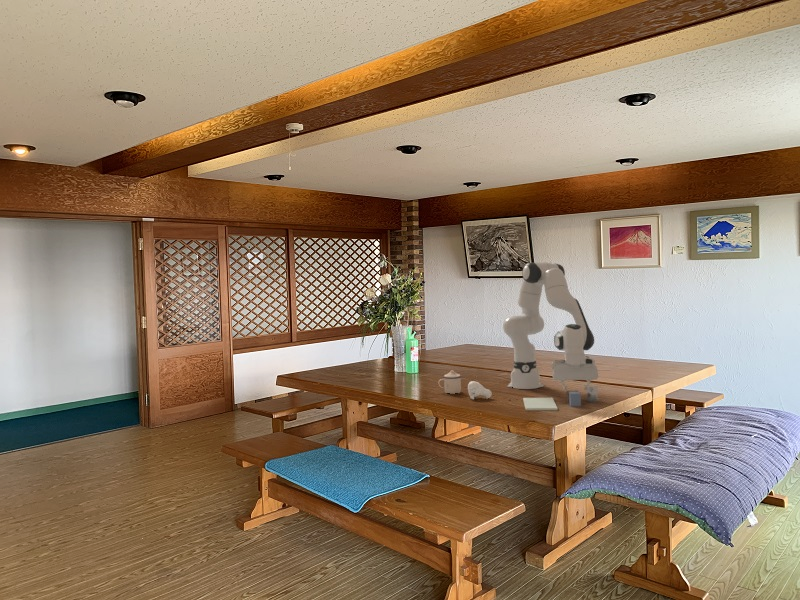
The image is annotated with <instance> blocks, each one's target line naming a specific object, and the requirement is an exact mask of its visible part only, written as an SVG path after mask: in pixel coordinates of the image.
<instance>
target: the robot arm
mask: <svg viewBox="0 0 800 600" xmlns="http://www.w3.org/2000/svg"><path fill="white" fill-rule="evenodd" d="M521 273H522V279H523V280H522V283H521V285H520V290H519V294H518V300H517V303H518V306H519V307H520V308H521V310H522V312H521V314H520V315H513V316H510V317H508V318H506V319H505V320H504V322H503V324H502V329H503V332H504V333H505V335H506V336H507V337H509V339H510V341H511V344H512V345H513V346H512V347H513V353H514V354H513V355H514V358H513V359H514V360H513V370H512V371H511V373H510V383H508V384H507V388H512V387H513V389H517V390H533V389H538V388H543V387H544V384H542V383H541V381H540V380H541V379H540V378H541V377H540V371H539V370H538V369H537V360H536V348H535V345H534V344H533V343H532V342H530V340H529V335H530V336H531V335H536V334H538V333H541V332H542V331H543V329H544V328H545V322H544V321H545V320H544V319H543V317H542V315H541V313H540V303H541V296H542V293H543V291H542V290H543V287H544V292H545V298H546V301H547V303H548V304H549V305H550V306H552V307H554V308H556V309H559V310H562V311H565V312H567V313H569V314H570V315H571V316H572V318H573V320H574V322H575V323H569V324H566V325H564V327H563V329H561V330H559V331H557V332H556V333H555V334H554V336H553V343H554V347H555V348H557V350H559V351H564V359H559V360H558V359H556V360H554V361H552V362H551V369H552V379H553V380H554V381H560V383H561V385H562V387H563V388H562V389H563V391H568V386H567V385H566V384H564V383H565V381H586V384H584V387H583V388H584V390H587V389H588V386H590V383H591V380H594V381H595V380H598V379H599V372H598V371H599V370H598V367H597V365H596V360H595V358H593V357H590V356H587V355H585V351H589V350H591V348H592V347H593V346H594V345H595V336H594V333H593V332H592V330H591V328H590V326H589V323H588V322H587V320H586V319H587V318H586V317H585V313H584V312H583V309H582V307H581V304H580V302H579V301H578V299H576V298H575V297H574V296H573V295H572V293H571V292H570V289H569V286H568V283H567V279H566V277H565V275H566V272H565V268H564V266H563V265H561V264H559V263H552V262H546V261H545V262H528V263H525V265H524V266H523V267H522V272H521Z"/></svg>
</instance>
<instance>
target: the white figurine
mask: <svg viewBox="0 0 800 600" xmlns="http://www.w3.org/2000/svg"><path fill="white" fill-rule="evenodd" d="M467 393H468V395H469V397H470V399H472V400H475V398H476V397H481V396H482V397H483V396H484V397H485V399H486V400H488V398H489V399H490V398H491V396H492V394H493V393H492V390H490V389H487V388H486V387H484V386H483V385H482V384H481V383H480V382H478V381H473V380H472V381H469V383H468V384H467Z"/></svg>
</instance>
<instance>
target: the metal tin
mask: <svg viewBox="0 0 800 600" xmlns="http://www.w3.org/2000/svg"><path fill="white" fill-rule="evenodd" d="M598 390H599V389H598V386H596V385H588V389H586V402H587V401H588V402H587V403H591V402H595V403H598V402H599V399H598V398H599V392H598ZM597 401H598V402H597Z"/></svg>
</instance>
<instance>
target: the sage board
mask: <svg viewBox="0 0 800 600" xmlns="http://www.w3.org/2000/svg"><path fill="white" fill-rule="evenodd" d="M522 401H523V404H524V408H525V411H558V406H557V404H556V402H555V400H554V398H553V397H523V398H522Z"/></svg>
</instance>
